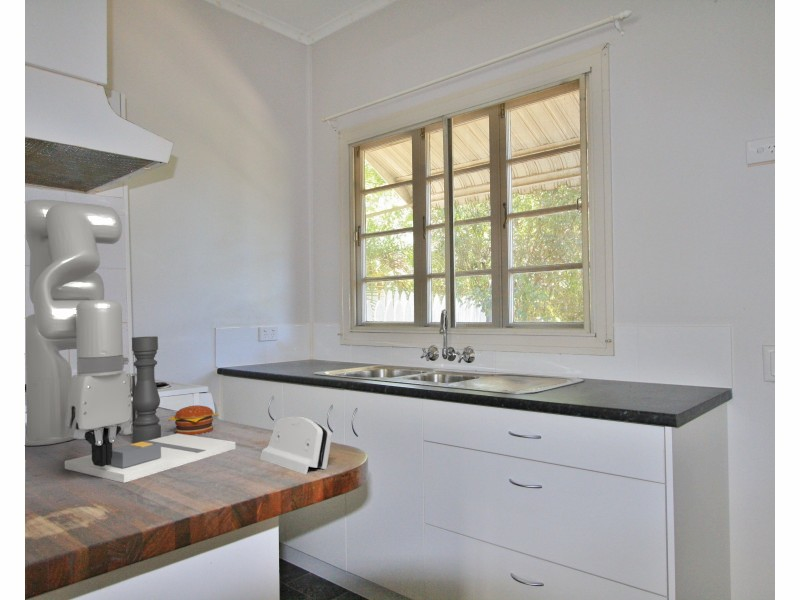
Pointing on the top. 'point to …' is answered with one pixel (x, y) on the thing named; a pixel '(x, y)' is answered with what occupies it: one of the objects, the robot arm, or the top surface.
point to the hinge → (298, 444)
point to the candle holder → (145, 390)
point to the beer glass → (132, 384)
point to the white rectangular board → (172, 455)
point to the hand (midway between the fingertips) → (102, 464)
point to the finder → (135, 453)
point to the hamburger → (194, 420)
